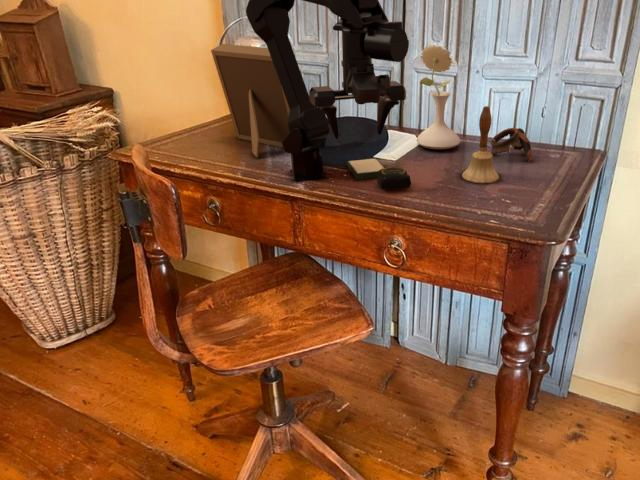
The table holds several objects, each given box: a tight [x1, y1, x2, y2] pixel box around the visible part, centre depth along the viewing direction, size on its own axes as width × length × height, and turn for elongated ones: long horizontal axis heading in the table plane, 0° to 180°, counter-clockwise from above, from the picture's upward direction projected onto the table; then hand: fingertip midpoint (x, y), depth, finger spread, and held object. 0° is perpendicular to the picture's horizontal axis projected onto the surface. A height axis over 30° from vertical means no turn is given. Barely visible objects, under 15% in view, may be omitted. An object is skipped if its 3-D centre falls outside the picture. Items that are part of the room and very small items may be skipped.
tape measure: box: [376, 166, 412, 191], centre depth 125 cm, size 7×7×4 cm
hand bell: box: [461, 105, 500, 184], centre depth 127 cm, size 8×8×16 cm
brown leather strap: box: [490, 127, 533, 163], centre depth 142 cm, size 12×10×8 cm
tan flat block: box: [346, 158, 384, 181], centre depth 134 cm, size 7×9×2 cm
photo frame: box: [210, 43, 290, 158], centre depth 146 cm, size 15×22×25 cm
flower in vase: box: [416, 44, 461, 151], centre depth 145 cm, size 13×11×25 cm
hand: (358, 136), depth 118 cm, fingers open, 9 cm apart
